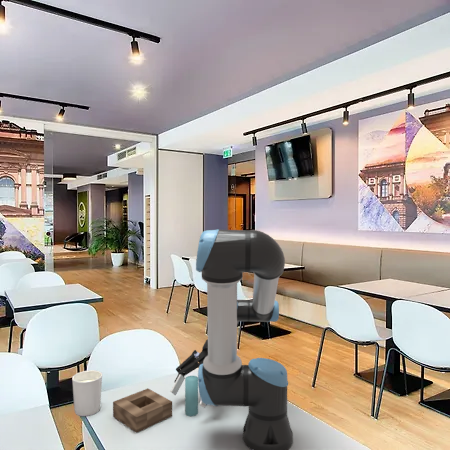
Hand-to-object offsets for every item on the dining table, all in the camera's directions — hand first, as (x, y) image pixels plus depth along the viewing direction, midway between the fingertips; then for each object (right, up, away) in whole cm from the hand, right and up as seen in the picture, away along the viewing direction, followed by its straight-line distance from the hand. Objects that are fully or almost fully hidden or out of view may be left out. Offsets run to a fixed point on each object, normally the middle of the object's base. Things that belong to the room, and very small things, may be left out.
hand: (186, 399), depth 131 cm
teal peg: (+1, -5, +2) cm, 6 cm away
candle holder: (-35, -5, +3) cm, 35 cm away
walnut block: (-15, -5, -1) cm, 16 cm away
